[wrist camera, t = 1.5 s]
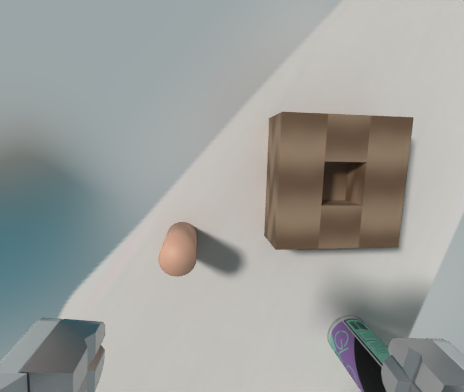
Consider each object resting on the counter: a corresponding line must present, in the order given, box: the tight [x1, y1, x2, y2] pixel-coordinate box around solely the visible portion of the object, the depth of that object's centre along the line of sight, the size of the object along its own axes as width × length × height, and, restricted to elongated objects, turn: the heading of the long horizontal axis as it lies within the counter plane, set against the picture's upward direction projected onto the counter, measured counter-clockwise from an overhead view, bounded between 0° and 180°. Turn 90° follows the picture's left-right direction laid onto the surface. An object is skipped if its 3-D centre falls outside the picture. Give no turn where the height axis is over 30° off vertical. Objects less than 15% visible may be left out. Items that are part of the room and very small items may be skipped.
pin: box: [158, 222, 197, 276], centre depth 29 cm, size 4×4×7 cm
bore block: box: [264, 112, 413, 250], centre depth 31 cm, size 14×14×5 cm
